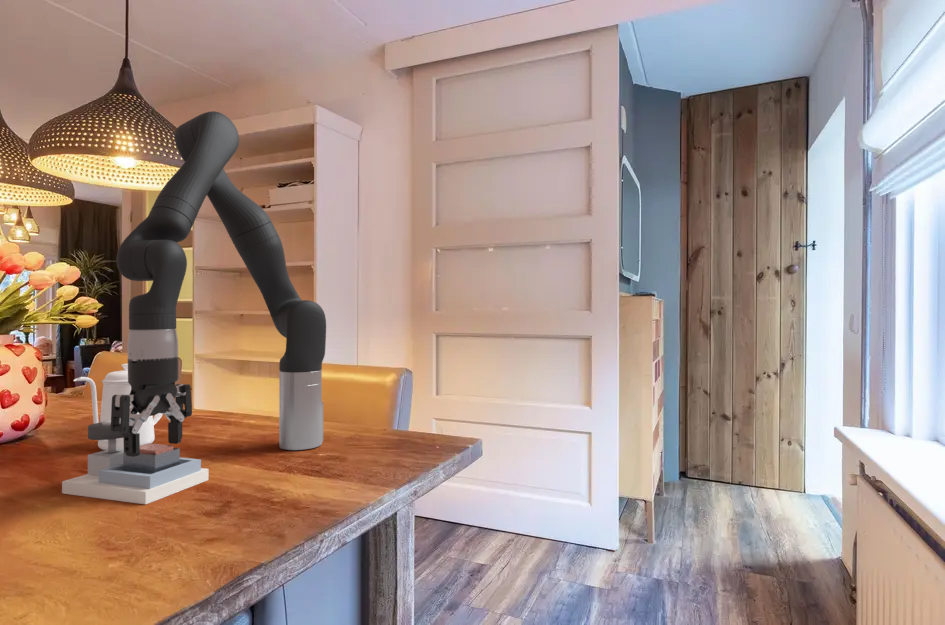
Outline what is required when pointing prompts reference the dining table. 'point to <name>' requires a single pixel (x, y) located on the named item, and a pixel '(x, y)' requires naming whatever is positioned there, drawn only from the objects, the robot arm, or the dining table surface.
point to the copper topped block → (152, 459)
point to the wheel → (104, 434)
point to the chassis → (133, 479)
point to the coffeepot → (111, 386)
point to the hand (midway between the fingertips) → (154, 449)
